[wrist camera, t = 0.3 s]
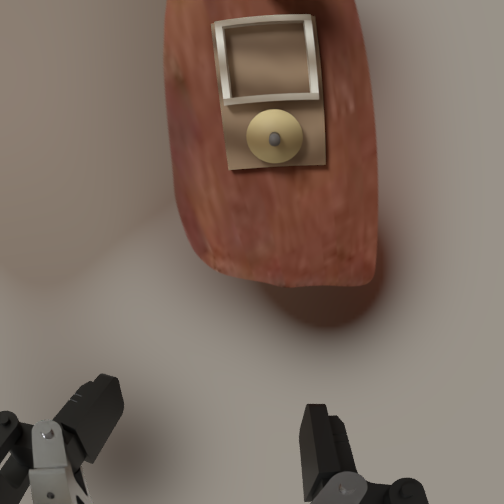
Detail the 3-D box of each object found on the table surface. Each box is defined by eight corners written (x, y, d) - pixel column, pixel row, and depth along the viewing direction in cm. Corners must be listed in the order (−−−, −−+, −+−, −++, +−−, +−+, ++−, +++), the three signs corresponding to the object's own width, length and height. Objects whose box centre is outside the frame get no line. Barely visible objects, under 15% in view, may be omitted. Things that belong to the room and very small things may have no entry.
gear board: (212, 25, 26) (201, 15, 21) (313, 18, 24) (320, 5, 20) (229, 168, 36) (222, 180, 31) (324, 162, 34) (332, 175, 30)
